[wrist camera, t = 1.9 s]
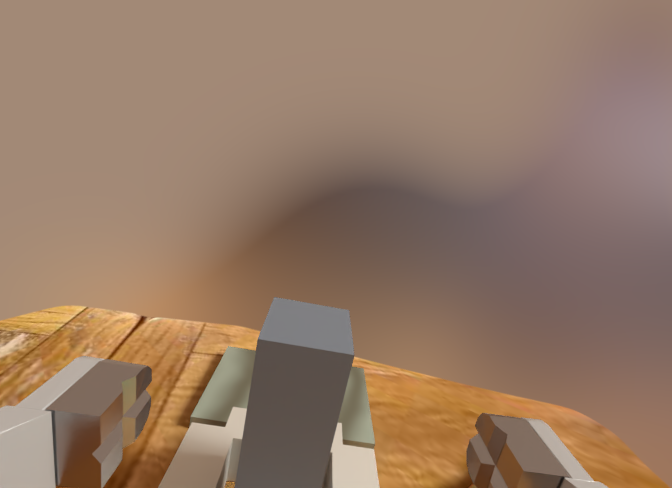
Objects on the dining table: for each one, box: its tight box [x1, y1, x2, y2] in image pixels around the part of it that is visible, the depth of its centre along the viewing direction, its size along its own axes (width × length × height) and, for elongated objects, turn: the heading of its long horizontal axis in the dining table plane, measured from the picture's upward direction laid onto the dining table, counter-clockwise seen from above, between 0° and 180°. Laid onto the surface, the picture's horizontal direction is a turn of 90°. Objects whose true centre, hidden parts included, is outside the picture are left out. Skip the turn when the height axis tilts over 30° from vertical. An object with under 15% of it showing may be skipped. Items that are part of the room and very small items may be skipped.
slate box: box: [235, 297, 354, 488], centre depth 23 cm, size 6×6×20 cm
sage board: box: [190, 346, 375, 449], centre depth 41 cm, size 20×13×2 cm, turn 91°
